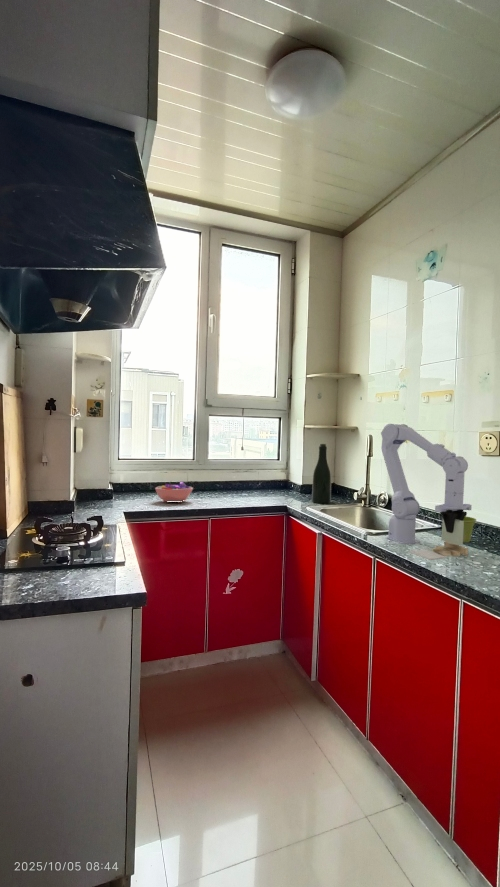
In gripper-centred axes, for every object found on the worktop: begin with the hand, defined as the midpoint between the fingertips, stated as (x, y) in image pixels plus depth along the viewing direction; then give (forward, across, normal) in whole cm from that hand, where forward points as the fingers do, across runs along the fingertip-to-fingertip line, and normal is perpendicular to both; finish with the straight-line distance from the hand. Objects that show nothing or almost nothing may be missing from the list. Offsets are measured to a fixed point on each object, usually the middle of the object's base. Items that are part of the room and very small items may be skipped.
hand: (452, 532), depth 145 cm
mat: (+7, -11, 0) cm, 13 cm away
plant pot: (+7, +17, +11) cm, 22 cm away
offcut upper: (+7, -4, 0) cm, 8 cm away
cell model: (+8, -70, +118) cm, 137 cm away
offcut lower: (+8, -4, 0) cm, 9 cm away
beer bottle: (+8, +9, +98) cm, 99 cm away
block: (+4, 0, 0) cm, 4 cm away
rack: (+7, 0, 0) cm, 7 cm away
